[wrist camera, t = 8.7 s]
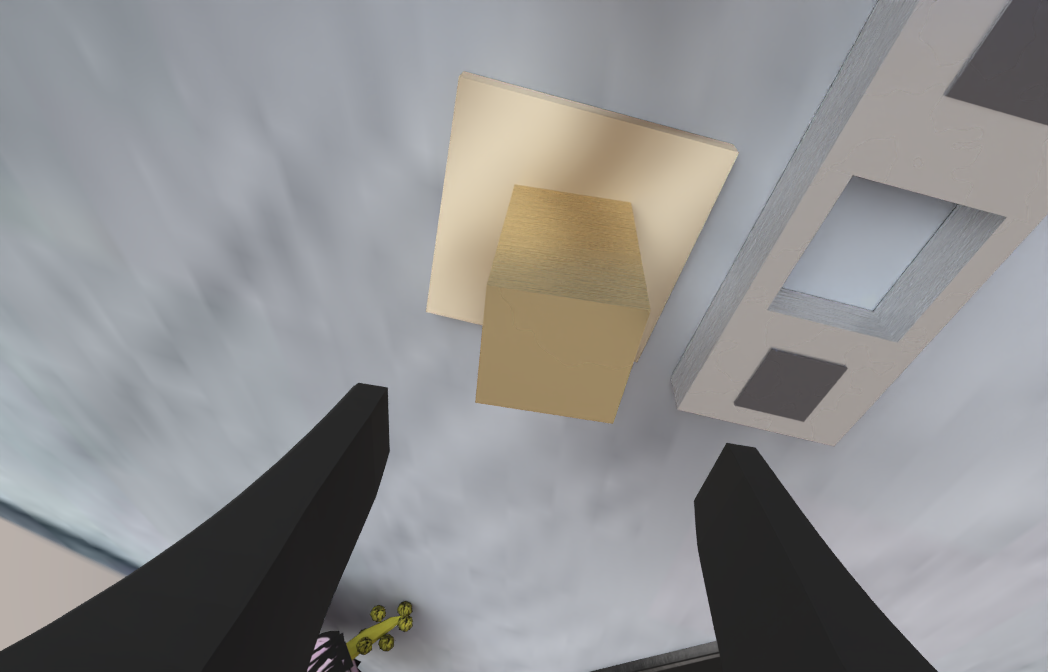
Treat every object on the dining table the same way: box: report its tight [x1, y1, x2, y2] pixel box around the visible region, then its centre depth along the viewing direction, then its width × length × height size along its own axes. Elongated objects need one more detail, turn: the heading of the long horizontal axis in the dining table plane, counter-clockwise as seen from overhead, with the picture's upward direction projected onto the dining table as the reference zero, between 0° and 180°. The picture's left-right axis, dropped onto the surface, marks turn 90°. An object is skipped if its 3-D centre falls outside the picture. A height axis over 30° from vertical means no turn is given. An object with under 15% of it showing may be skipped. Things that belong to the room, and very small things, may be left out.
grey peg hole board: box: [671, 0, 1048, 446], centre depth 17 cm, size 7×18×2 cm, turn 167°
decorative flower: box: [307, 601, 413, 672], centre depth 36 cm, size 15×12×15 cm
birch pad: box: [426, 72, 739, 362], centre depth 19 cm, size 9×9×1 cm
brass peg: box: [475, 184, 651, 424], centre depth 16 cm, size 4×4×6 cm
